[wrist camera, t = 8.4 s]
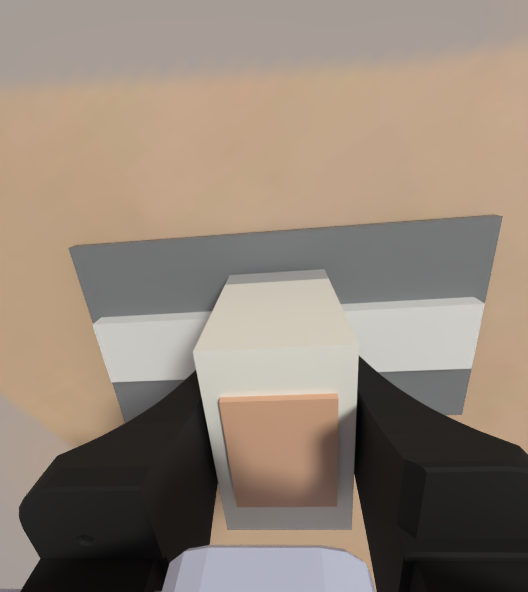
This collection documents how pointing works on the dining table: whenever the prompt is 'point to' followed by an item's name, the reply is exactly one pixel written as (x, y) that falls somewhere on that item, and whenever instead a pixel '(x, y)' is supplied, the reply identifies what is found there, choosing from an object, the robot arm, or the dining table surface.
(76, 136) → the dining table surface
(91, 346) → the dining table surface
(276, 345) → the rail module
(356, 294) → the din rail
